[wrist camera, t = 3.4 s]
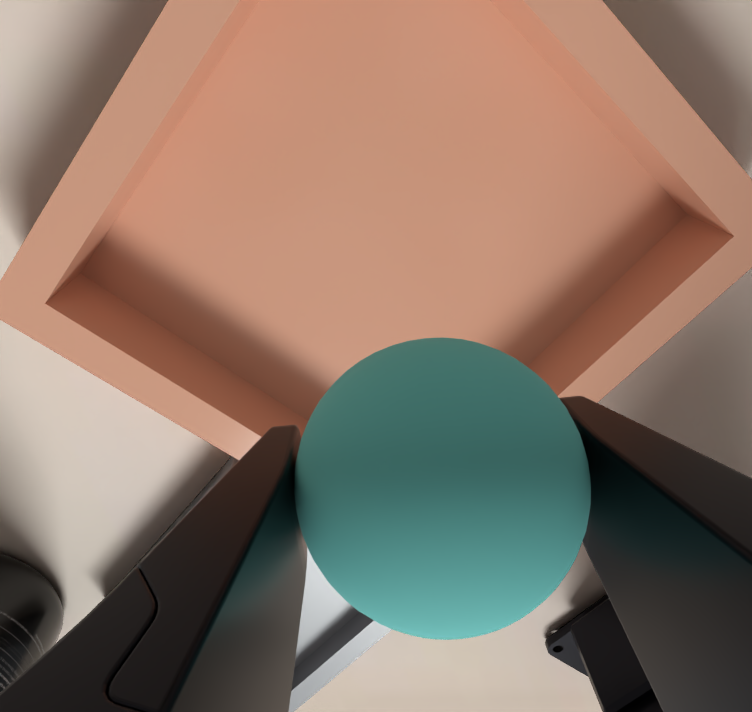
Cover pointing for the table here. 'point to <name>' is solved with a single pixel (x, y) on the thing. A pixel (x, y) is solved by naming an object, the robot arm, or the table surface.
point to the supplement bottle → (25, 618)
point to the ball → (442, 488)
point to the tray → (316, 624)
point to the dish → (377, 205)
